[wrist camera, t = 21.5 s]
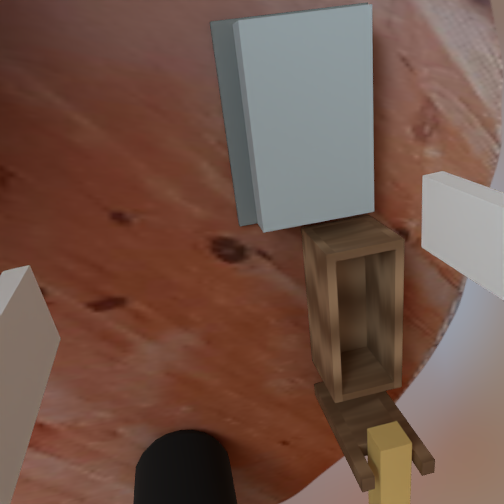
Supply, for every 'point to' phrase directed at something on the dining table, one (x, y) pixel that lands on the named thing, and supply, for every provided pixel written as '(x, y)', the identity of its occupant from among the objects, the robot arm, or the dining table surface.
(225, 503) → the coffee jar
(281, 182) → the lid
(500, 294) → the robot arm
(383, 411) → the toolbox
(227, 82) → the mat
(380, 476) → the yellow block
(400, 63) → the dining table surface
